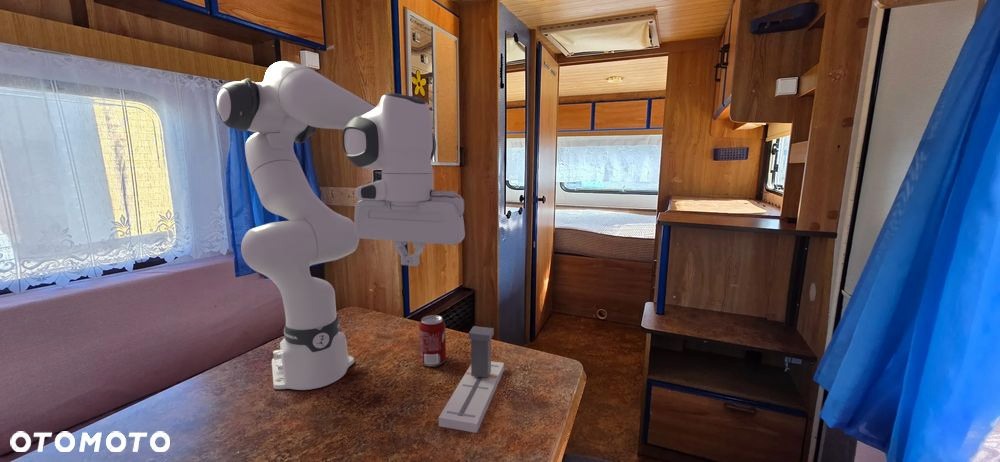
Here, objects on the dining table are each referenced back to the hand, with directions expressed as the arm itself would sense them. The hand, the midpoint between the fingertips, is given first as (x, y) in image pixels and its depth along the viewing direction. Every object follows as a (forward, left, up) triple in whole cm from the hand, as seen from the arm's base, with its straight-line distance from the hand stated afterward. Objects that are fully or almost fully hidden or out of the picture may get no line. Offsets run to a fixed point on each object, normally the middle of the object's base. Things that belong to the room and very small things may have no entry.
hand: (410, 264), depth 72 cm
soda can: (-20, +17, -34) cm, 43 cm away
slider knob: (-4, +20, -31) cm, 37 cm away
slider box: (-1, +16, -34) cm, 37 cm away
